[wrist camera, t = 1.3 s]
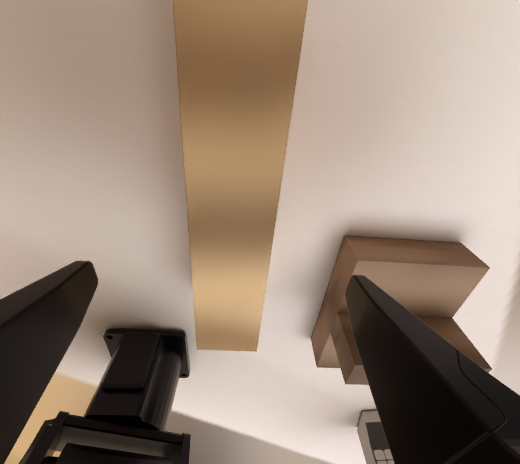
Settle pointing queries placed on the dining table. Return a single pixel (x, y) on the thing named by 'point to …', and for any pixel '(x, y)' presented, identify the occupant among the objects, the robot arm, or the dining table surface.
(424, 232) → the dining table surface
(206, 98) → the light wooden block
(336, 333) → the ridge stand
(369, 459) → the vintage mobile phone
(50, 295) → the robot arm
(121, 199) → the dining table surface
